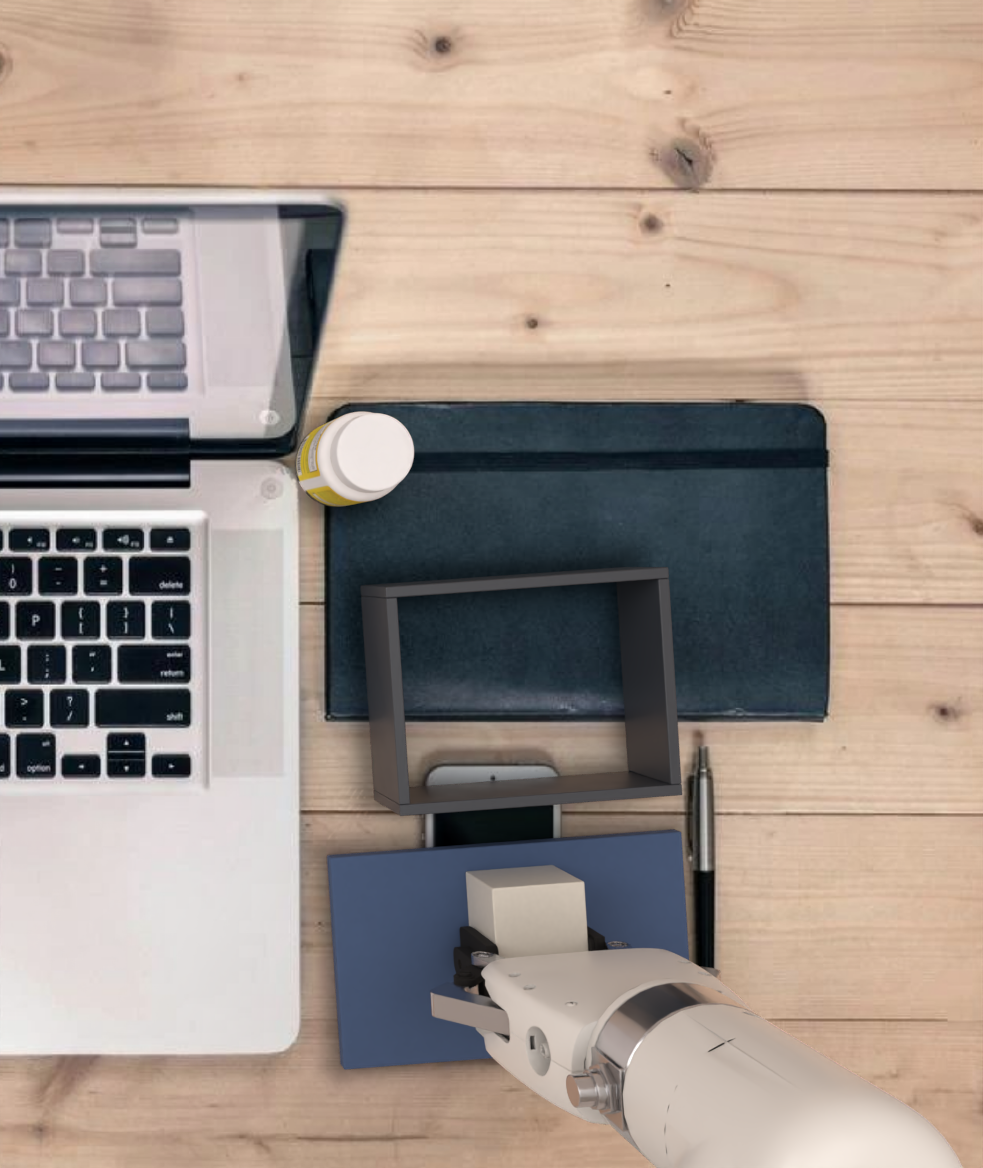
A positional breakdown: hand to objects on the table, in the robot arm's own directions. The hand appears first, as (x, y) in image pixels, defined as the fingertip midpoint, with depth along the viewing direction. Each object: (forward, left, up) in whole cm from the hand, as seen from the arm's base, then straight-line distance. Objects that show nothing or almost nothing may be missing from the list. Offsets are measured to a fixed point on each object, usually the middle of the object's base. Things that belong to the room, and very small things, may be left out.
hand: (518, 950), depth 74 cm
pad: (0, 0, -2) cm, 2 cm away
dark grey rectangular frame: (+15, 0, -2) cm, 15 cm away
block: (0, 0, -1) cm, 1 cm away
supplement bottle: (+28, +8, -2) cm, 29 cm away
